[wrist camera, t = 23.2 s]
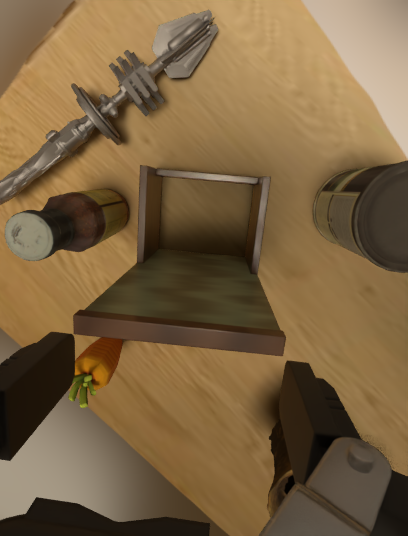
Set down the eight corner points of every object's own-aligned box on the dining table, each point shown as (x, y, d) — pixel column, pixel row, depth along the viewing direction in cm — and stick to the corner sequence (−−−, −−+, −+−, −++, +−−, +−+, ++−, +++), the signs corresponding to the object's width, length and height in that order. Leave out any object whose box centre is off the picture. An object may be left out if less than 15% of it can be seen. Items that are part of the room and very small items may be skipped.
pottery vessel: (387, 465, 52) (485, 629, 33) (333, 497, 54) (396, 668, 35) (293, 364, 48) (341, 482, 29) (239, 403, 50) (251, 536, 31)
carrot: (99, 322, 48) (46, 380, 34) (130, 318, 48) (90, 376, 33) (105, 350, 49) (57, 418, 35) (136, 348, 49) (100, 415, 34)
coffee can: (339, 154, 40) (400, 136, 27) (406, 191, 41) (499, 193, 27) (297, 224, 43) (333, 241, 29) (361, 259, 43) (425, 291, 30)
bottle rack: (260, 179, 41) (315, 167, 17) (249, 265, 44) (282, 356, 20) (156, 169, 42) (69, 145, 18) (152, 255, 45) (73, 334, 21)
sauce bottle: (79, 202, 44) (-33, 213, 24) (116, 180, 43) (30, 174, 23) (103, 243, 45) (16, 284, 26) (140, 223, 44) (78, 250, 25)
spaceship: (-57, 169, 35) (-30, 222, 34) (186, -39, 32) (230, 8, 31) (0, 194, 43) (26, 238, 42) (201, 28, 40) (237, 68, 38)
